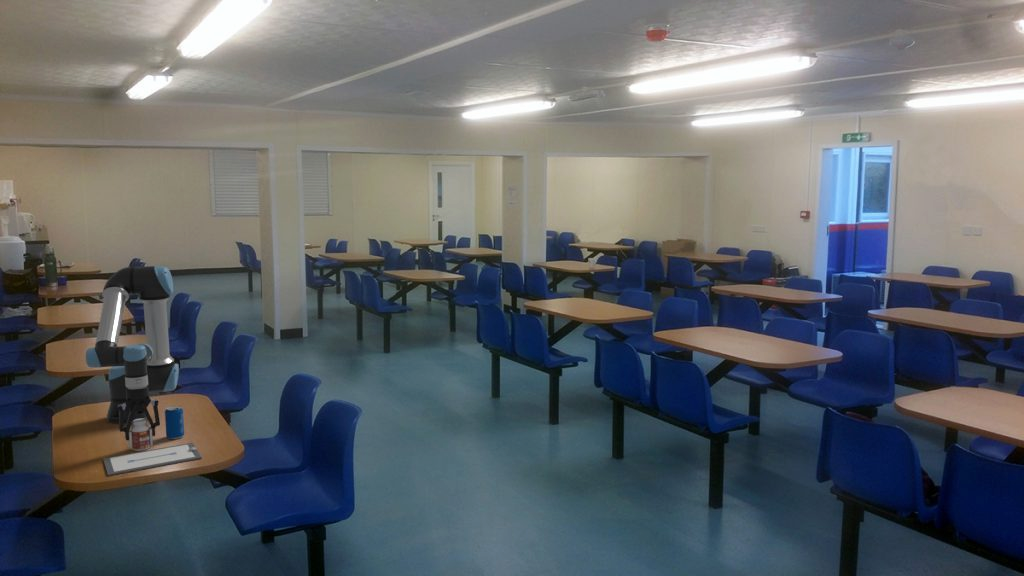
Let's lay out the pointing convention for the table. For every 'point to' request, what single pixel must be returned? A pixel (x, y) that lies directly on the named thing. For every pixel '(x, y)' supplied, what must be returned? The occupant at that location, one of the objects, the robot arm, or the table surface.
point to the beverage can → (174, 422)
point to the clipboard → (151, 459)
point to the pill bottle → (140, 435)
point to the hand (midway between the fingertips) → (141, 446)
